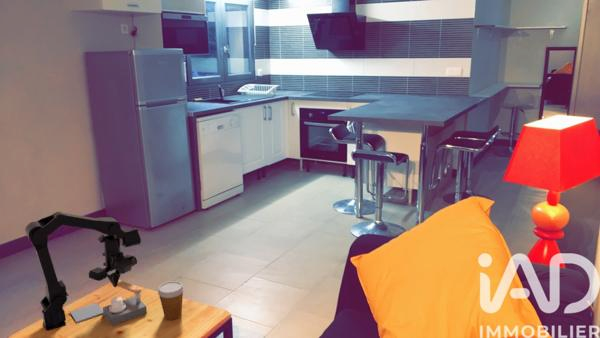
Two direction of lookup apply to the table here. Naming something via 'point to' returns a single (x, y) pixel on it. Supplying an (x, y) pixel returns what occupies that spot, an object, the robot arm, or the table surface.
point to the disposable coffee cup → (171, 299)
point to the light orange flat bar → (129, 287)
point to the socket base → (126, 310)
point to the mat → (86, 312)
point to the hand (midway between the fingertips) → (115, 287)
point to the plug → (117, 305)
